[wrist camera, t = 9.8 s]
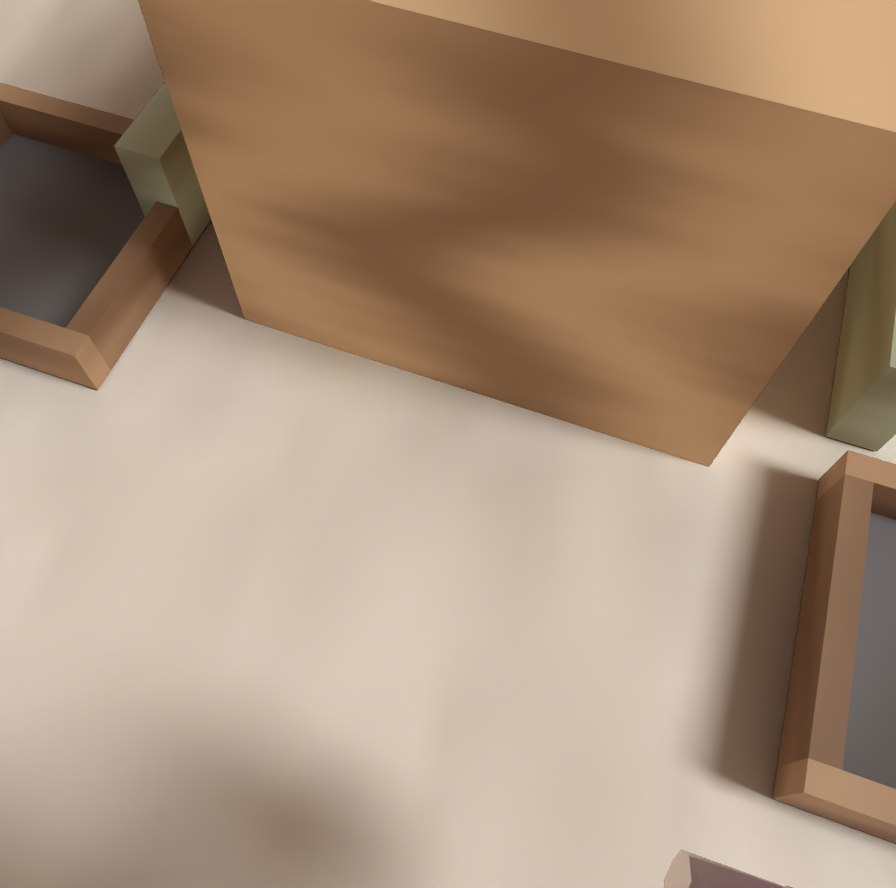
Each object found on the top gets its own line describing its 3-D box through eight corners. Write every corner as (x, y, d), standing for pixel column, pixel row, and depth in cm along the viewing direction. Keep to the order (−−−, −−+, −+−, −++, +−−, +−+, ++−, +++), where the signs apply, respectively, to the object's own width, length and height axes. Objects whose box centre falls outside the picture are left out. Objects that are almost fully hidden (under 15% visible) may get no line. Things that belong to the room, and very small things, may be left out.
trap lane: (-257, 422, 15) (-371, 348, 13) (179, -67, 23) (153, -164, 21) (1176, 946, 12) (1346, 964, 10) (1121, 159, 20) (1209, 69, 17)
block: (246, 322, 17) (117, -63, 10) (413, 41, 22) (406, -361, 14) (706, 469, 16) (936, 141, 9) (783, 136, 20) (976, -259, 13)
